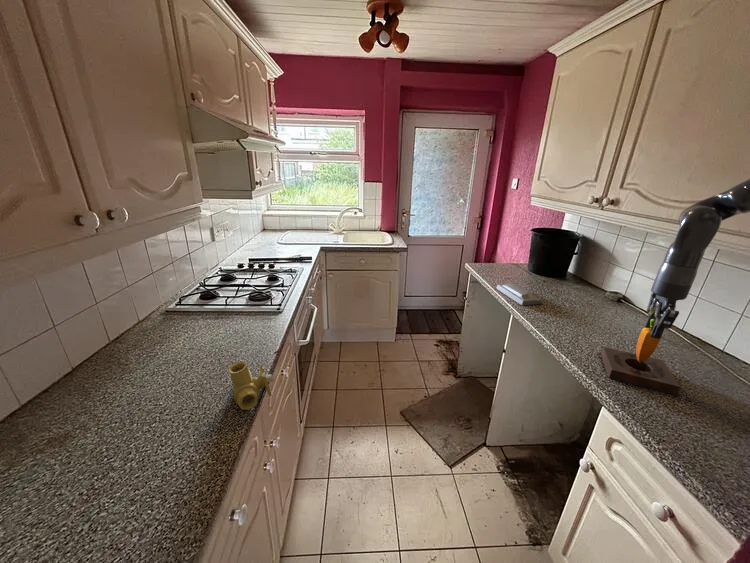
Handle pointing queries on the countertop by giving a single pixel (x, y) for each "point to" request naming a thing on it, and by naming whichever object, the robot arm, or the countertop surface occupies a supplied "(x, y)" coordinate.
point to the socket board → (650, 375)
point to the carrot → (646, 343)
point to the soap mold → (518, 294)
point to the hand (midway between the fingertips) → (651, 332)
